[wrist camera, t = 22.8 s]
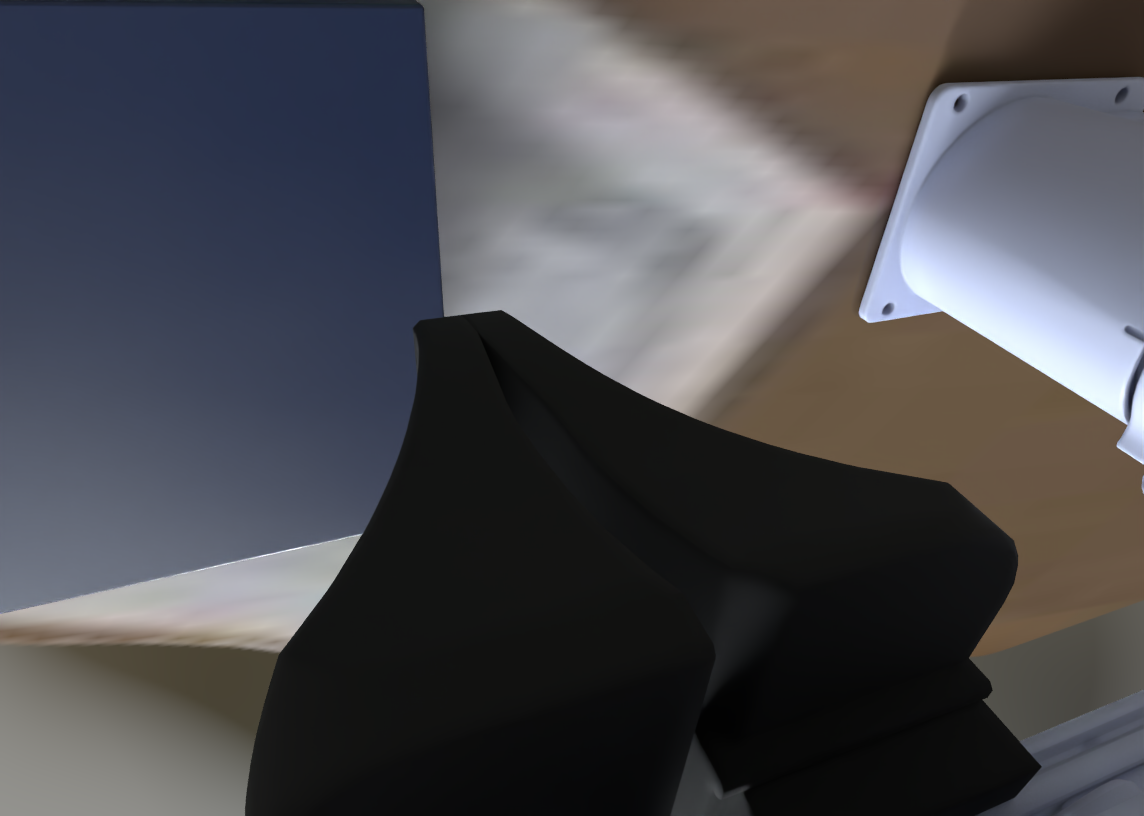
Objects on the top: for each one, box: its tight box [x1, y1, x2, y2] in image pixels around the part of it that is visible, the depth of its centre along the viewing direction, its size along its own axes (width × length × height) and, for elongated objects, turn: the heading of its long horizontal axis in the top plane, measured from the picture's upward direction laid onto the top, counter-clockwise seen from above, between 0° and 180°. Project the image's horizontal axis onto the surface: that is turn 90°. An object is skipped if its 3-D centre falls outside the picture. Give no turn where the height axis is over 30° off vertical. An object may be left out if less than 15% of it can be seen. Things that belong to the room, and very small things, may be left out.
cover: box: [0, 0, 444, 614], centre depth 12 cm, size 11×14×1 cm
